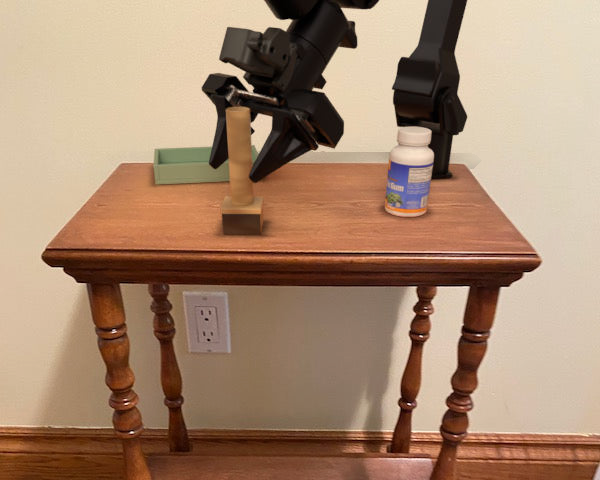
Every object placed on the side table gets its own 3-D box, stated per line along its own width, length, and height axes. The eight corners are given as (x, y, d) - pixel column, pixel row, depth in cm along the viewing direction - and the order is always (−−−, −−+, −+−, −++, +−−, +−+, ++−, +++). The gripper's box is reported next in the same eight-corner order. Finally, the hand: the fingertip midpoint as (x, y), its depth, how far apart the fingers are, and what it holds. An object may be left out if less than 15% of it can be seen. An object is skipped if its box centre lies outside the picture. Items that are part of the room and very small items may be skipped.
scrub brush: (264, 221, 76) (260, 104, 69) (261, 235, 72) (257, 113, 65) (226, 221, 76) (219, 104, 69) (222, 235, 73) (213, 113, 65)
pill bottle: (377, 206, 81) (383, 126, 75) (413, 202, 83) (422, 123, 77) (396, 220, 77) (404, 136, 71) (435, 215, 78) (446, 132, 73)
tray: (254, 162, 98) (254, 144, 97) (262, 179, 91) (261, 161, 89) (156, 166, 96) (154, 148, 95) (155, 184, 89) (153, 165, 87)
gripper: (208, -10, 69) (135, 112, 69) (328, -3, 58) (240, 143, 58) (265, 64, 78) (199, 172, 78) (378, 83, 66) (302, 208, 67)
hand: (231, 173), depth 70 cm, fingers open, 7 cm apart
